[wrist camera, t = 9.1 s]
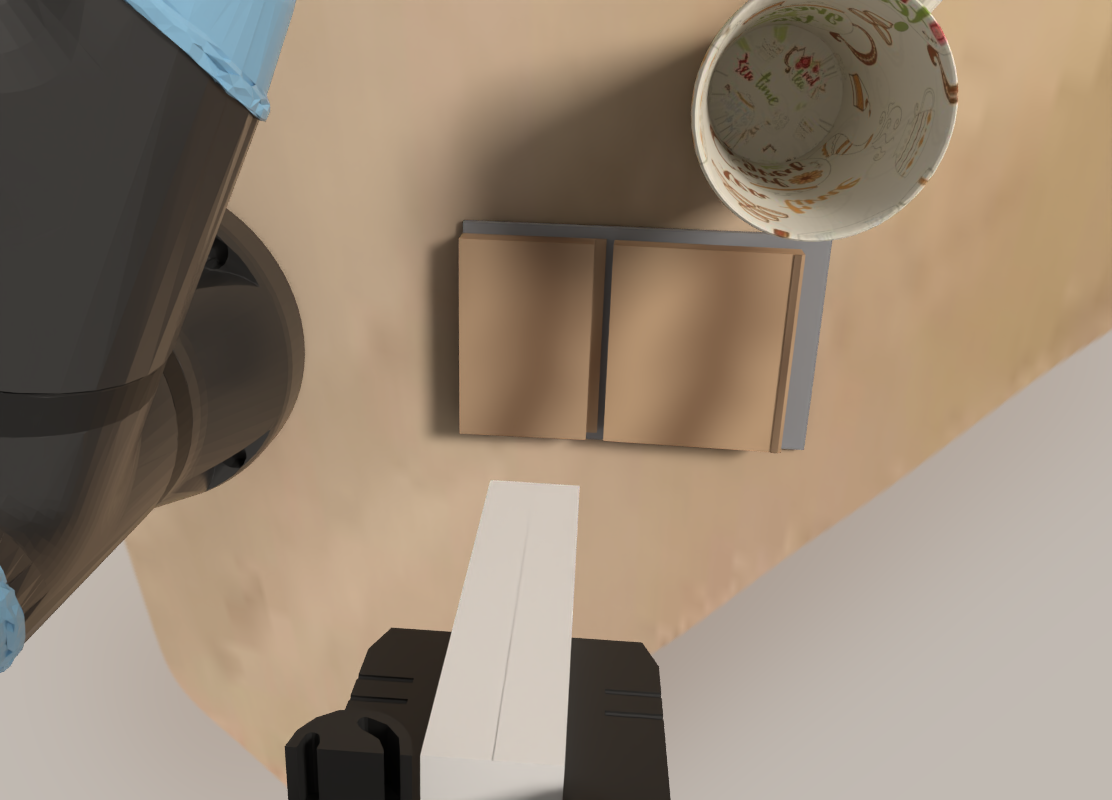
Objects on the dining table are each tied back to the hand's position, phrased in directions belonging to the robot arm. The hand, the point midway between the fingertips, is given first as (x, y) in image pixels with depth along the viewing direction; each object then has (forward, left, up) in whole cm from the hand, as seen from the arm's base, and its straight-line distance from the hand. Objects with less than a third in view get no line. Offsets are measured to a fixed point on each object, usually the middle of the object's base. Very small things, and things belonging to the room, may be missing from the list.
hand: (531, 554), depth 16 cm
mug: (+9, +8, -28) cm, 30 cm away
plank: (+5, -4, -27) cm, 28 cm away
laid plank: (-2, -4, -28) cm, 28 cm away
